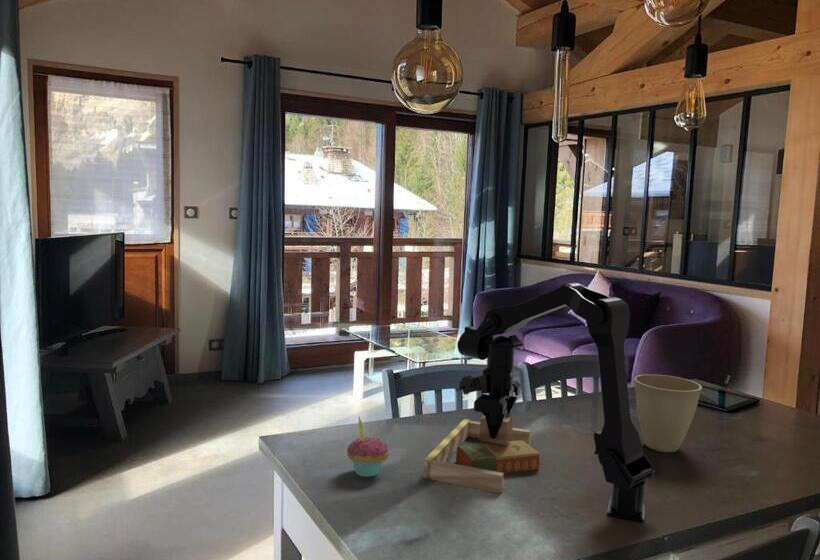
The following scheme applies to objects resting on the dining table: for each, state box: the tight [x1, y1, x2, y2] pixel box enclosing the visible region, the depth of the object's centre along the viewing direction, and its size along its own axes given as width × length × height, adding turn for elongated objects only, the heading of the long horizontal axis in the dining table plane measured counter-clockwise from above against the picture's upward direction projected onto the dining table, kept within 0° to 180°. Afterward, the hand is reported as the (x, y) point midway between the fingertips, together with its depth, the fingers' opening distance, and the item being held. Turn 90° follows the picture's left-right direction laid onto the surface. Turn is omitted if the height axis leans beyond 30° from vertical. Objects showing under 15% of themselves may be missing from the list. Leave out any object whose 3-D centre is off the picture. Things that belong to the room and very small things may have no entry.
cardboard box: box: [478, 413, 514, 445], centre depth 145 cm, size 6×6×5 cm
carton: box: [455, 440, 540, 474], centre depth 142 cm, size 8×16×4 cm, turn 108°
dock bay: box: [422, 418, 532, 494], centre depth 145 cm, size 29×16×4 cm, turn 159°
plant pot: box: [634, 374, 703, 453], centre depth 157 cm, size 15×15×16 cm
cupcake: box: [346, 416, 389, 478], centre depth 136 cm, size 9×8×12 cm
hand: (496, 433), depth 145 cm, fingers closed on cardboard box, 6 cm apart
